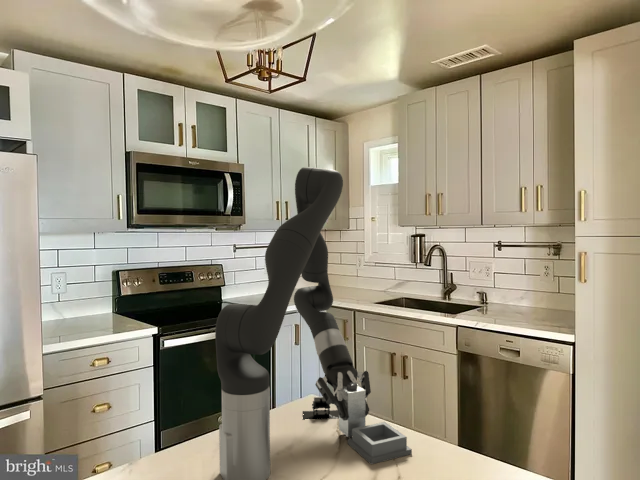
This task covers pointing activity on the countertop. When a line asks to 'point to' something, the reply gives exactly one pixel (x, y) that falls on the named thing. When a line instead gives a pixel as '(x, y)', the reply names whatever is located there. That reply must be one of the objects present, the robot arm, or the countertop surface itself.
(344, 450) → the countertop surface
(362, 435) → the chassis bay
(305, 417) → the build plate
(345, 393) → the knobbed grey block
